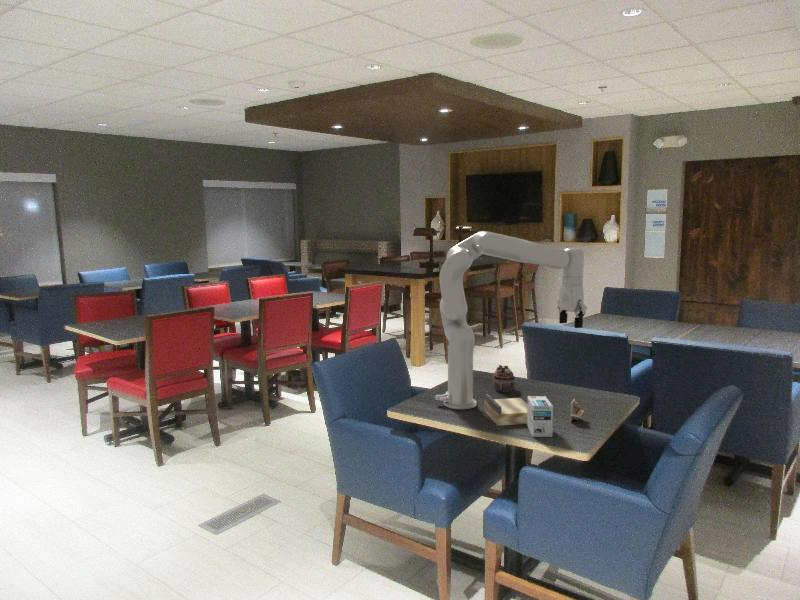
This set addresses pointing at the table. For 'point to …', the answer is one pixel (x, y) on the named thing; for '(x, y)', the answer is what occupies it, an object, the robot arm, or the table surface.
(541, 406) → the light bulb box
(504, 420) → the beige flat block
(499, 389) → the cupcake
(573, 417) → the architectural model
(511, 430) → the table surface
